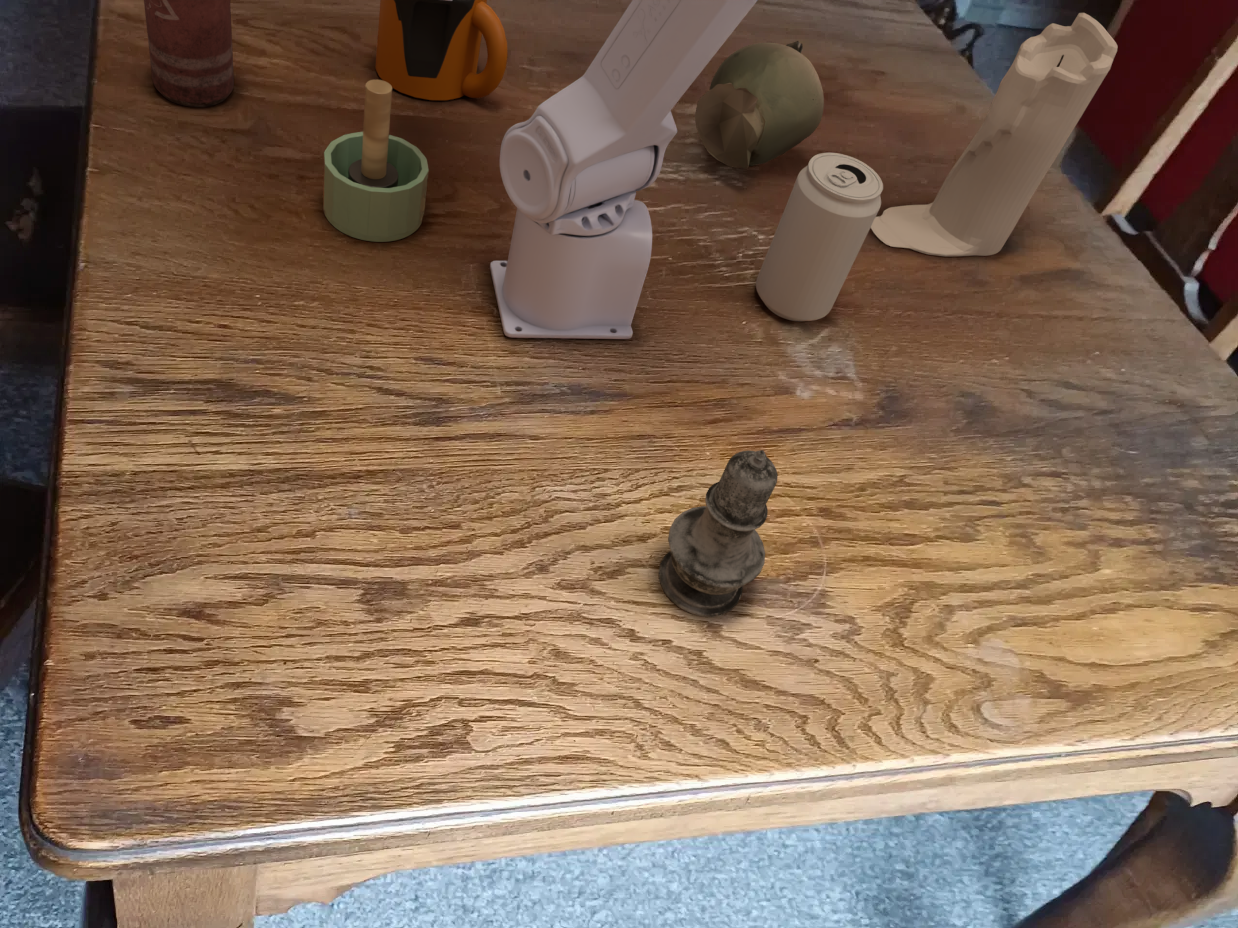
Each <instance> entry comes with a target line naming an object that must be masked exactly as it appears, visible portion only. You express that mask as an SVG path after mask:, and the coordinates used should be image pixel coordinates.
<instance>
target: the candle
mask: <svg viewBox="0 0 1238 928" xmlns="http://www.w3.org/2000/svg"><path fill="white" fill-rule="evenodd" d="M1117 52H1118V44H1117V42H1116V41H1115V40H1114V38H1113V37H1112V35H1110V34H1109V32H1108V31H1107V30H1106V28H1105V26H1103V25H1102V24H1101V23H1100V22H1099V21H1098V20H1097V19H1095V18H1094V17H1092V16H1091V15H1089V14H1087V13H1085V12H1079V13H1078V14H1077V16H1076V17H1075V19H1074V20H1073V22H1072V24H1071V25H1067V26H1064V25H1061V24H1057V23H1053V22H1052V23H1050V24H1048V25H1047V26H1046V27H1044V29H1043V30H1042V31H1041V33H1040V34H1037V35H1036V36H1031V37H1029V38H1027V39H1026V40H1025V41H1023V42H1022V43H1021V44H1020V46H1019V48H1018V51H1017V53H1016V56H1015V58H1014V59H1013V62H1012V64H1011V65H1010V67H1009V68H1008V70H1007V72H1006V73H1005V75H1004V76H1003V77H1002V79H1001V80H1000V83H999V85H998V88H997V90H996V93H995V95H994V97H993V98H992V101H991V104H990V106H989V108H988V111H987V113H986V115H985V118H984V120H983V122H982V124H981V126H980V128H979V129H978V130H977V132H976V133H975V135H973V137H972V138H971V140H970V142H969V143H968V145H967V147H966V148H965V149H964V150H963V152H962V154H961V155H960V156H959V158H958V159H957V160H956V162H955V163H954V165H953V167H952V168H951V169H950V171H949V172H948V174H947V176H946V177H945V179H944V181H943V183H942V184H941V186H940V189H939V190H938V192H937V194H936V196H935V197H934V199H933V201H932V202H930V203H928V204H909V205H900V206H891V207H888V208H886V209H885V210H883V212H882V214H881V215H879V216H876V217H875V219H874V221H873V223H872V225H871V227H870V229H871V231H872V232H873V234H874V235H875V236H876V237H877V238H878V239H879V240H880V241H881V242H883V244H885V245H887V246H890V247H893V248H904V249H910V250H913V251H915V252H917V253H918V252H919V253H922V254H926V255H928V256H929V255H930V256H937V257H969V256H985V257H987V256H993V255H996V254H998V253H999V252H1001V251H1002V249H1003V247H1004V245H1005V244H1006V242H1007V240H1008V239H1009V237H1010V236H1011V234H1012V233H1013V231H1014V229H1015V228H1016V225H1017V224H1018V222H1019V220H1020V219H1021V217H1022V215H1023V213H1024V211H1025V210H1026V208H1027V206H1028V204H1029V203H1030V201H1031V200H1032V198H1033V196H1034V194H1035V193H1036V191H1037V189H1038V188H1039V186H1040V184H1041V183H1042V181H1043V179H1044V178H1045V176H1046V175H1047V173H1048V172H1049V170H1050V169H1051V167H1052V166H1053V164H1054V163H1055V161H1056V159H1057V157H1058V156H1059V154H1060V153H1061V151H1062V150H1063V148H1064V146H1065V144H1066V142H1067V141H1068V139H1069V138H1070V136H1071V134H1072V132H1073V131H1074V129H1075V128H1076V126H1077V124H1078V123H1079V121H1080V119H1081V118H1082V116H1083V114H1084V113H1085V111H1086V110H1087V108H1088V106H1089V105H1090V103H1091V101H1092V99H1093V98H1094V96H1095V94H1096V93H1097V91H1098V89H1099V88H1100V86H1101V85H1102V83H1103V81H1104V79H1106V76H1107V75H1108V73H1109V72H1110V70H1111V68H1112V64H1113V62H1114V59H1115V57H1116V54H1117Z"/></svg>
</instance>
